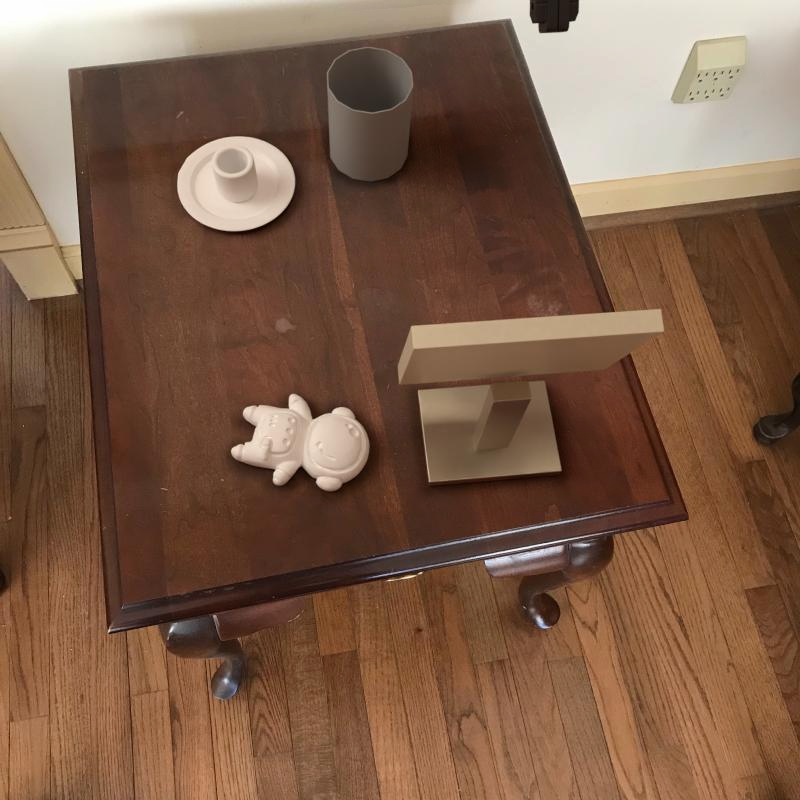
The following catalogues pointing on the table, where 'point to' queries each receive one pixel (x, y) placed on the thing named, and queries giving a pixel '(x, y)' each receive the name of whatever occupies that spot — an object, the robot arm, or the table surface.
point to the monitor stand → (487, 433)
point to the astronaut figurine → (305, 443)
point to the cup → (369, 112)
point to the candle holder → (236, 183)
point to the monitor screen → (524, 346)
